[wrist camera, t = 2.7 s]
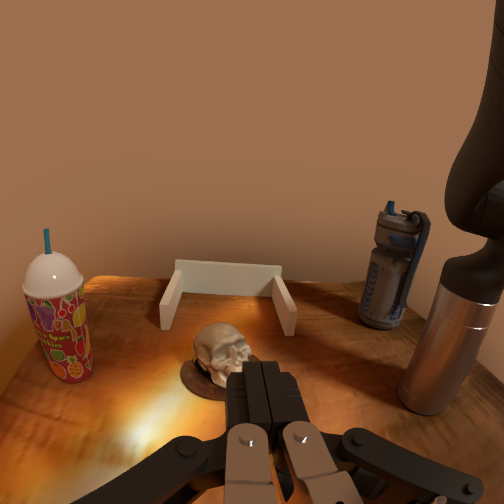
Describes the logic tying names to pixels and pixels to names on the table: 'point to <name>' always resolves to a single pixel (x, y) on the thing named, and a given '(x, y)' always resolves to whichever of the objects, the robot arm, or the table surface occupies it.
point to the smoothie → (59, 313)
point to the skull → (215, 359)
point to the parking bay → (228, 287)
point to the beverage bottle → (392, 266)
